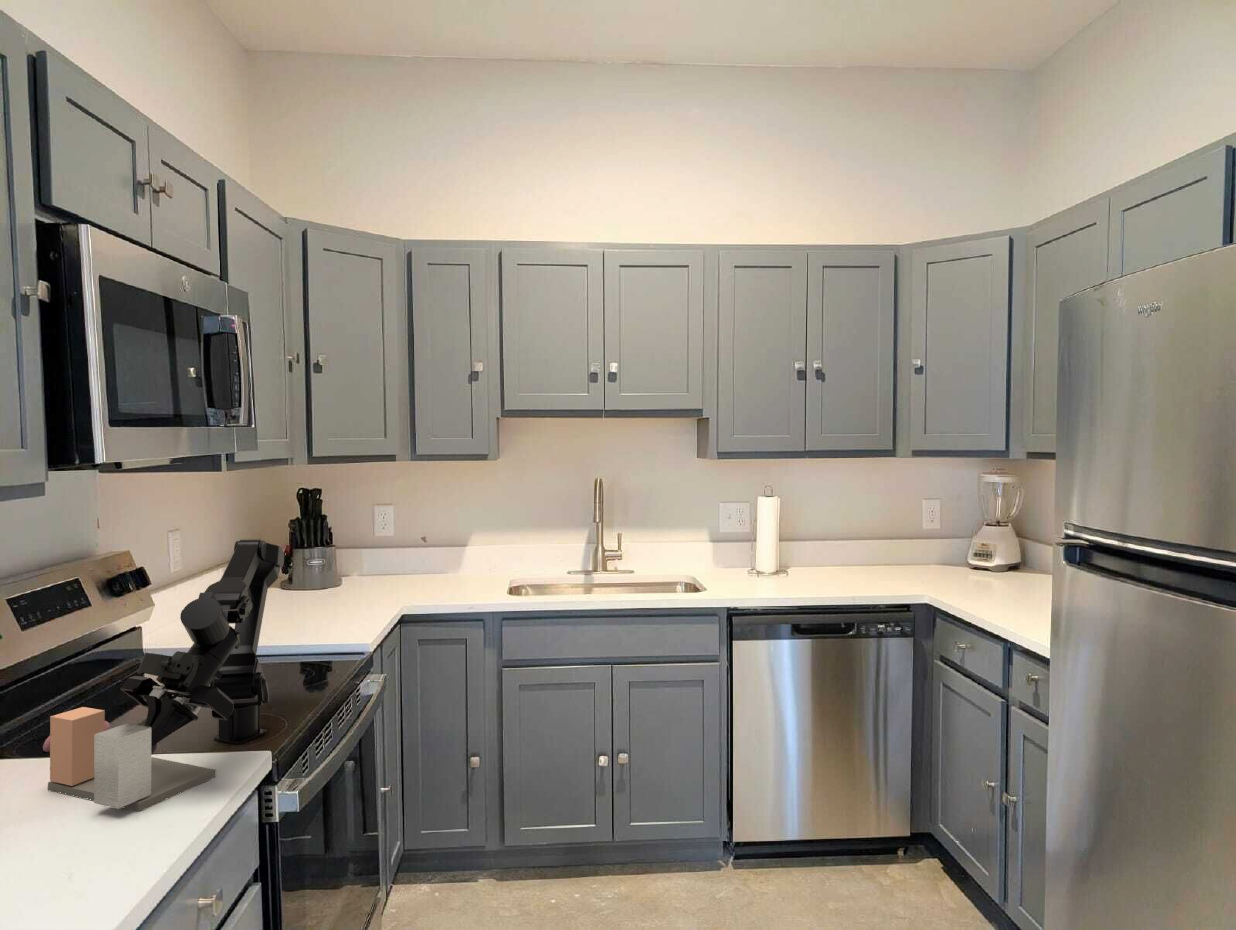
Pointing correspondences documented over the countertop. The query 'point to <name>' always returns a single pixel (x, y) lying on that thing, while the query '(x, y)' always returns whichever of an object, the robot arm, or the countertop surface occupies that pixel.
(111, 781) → the brushed grey block
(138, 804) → the thin grey base plate
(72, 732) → the peach orange rectangular block
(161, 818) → the countertop surface
